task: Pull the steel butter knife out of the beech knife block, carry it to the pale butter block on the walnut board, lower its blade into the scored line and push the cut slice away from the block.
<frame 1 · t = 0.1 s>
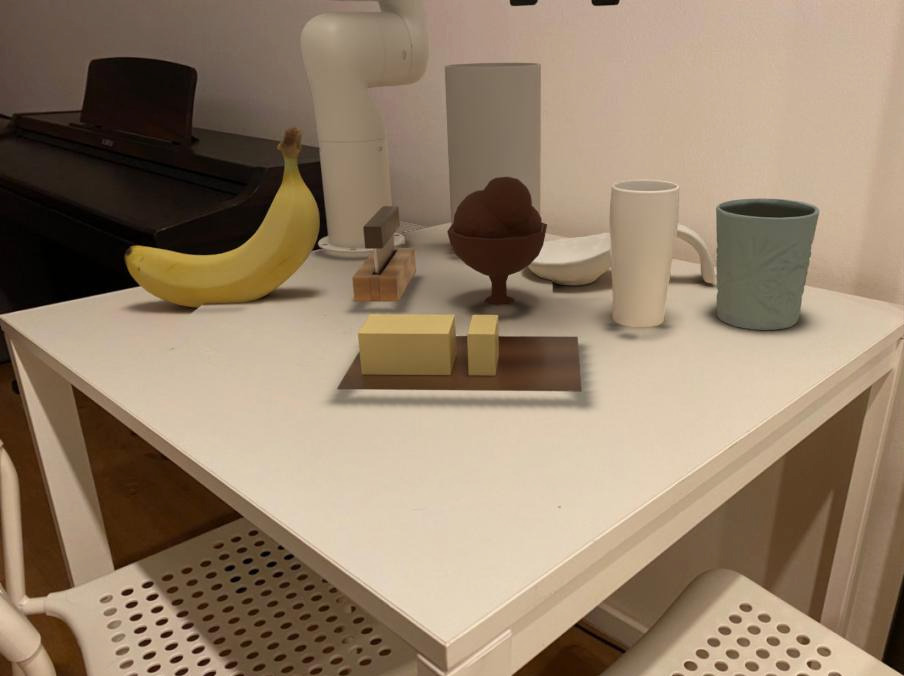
hand: (565, 5, 72), 31 cm above the table, tool pointing down, fingers open, 9 cm apart
butter slice: (484, 365, 73), point 1 cm above the table, touching board
green cup: (754, 318, 88), on the table
knife block: (387, 293, 97), on the table
ice cream bowl: (499, 311, 91), on the table
knife: (387, 285, 97), point 1 cm above the table, touching knife block
banana: (231, 306, 94), on the table
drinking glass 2: (637, 330, 85), on the table
spoon rest: (615, 281, 101), on the table
board: (466, 372, 75), on the table
cylinder vase: (496, 254, 114), on the table
butter: (410, 364, 74), point 1 cm above the table, touching board
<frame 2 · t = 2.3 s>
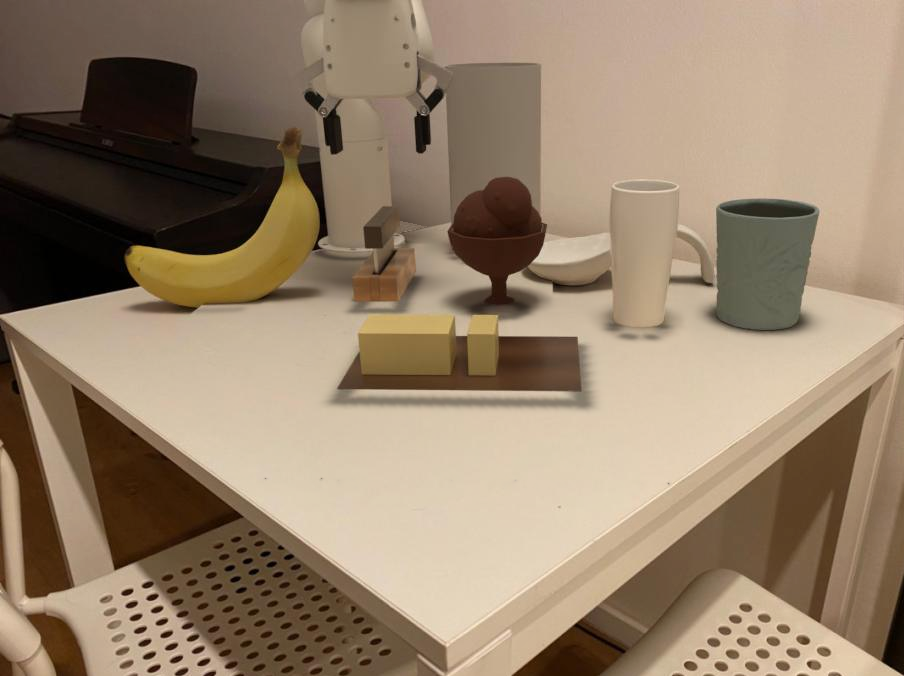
hand: (379, 152, 90), 17 cm above the table, tool pointing down, fingers open, 9 cm apart
nothing on the table moved.
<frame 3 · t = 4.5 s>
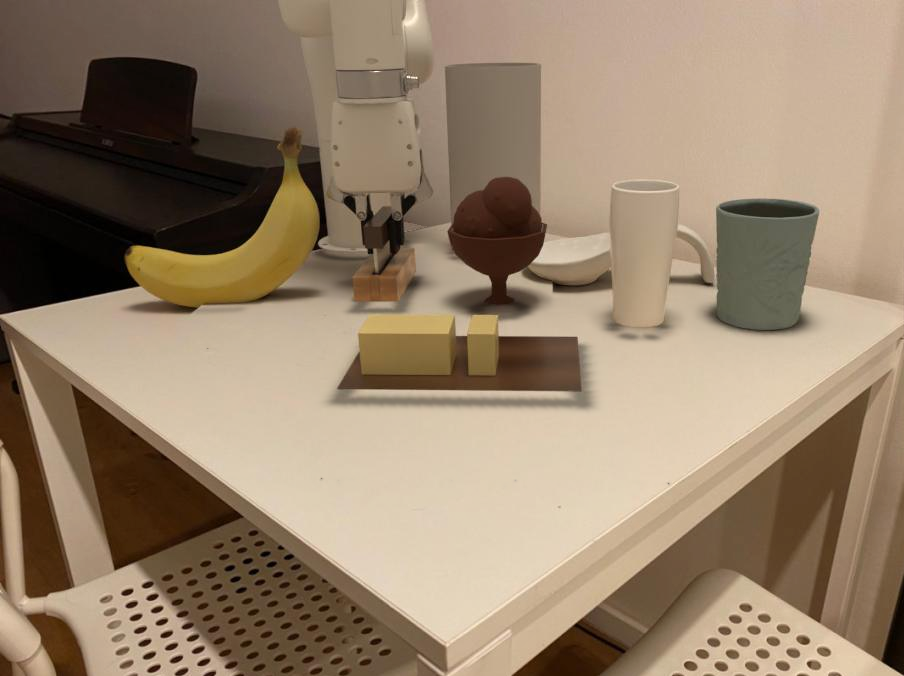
hand: (384, 250, 95), 5 cm above the table, tool pointing down, fingers closed on knife, 2 cm apart
knife: (387, 285, 97), point 1 cm above the table, touching gripper, knife block
everything else where it was.
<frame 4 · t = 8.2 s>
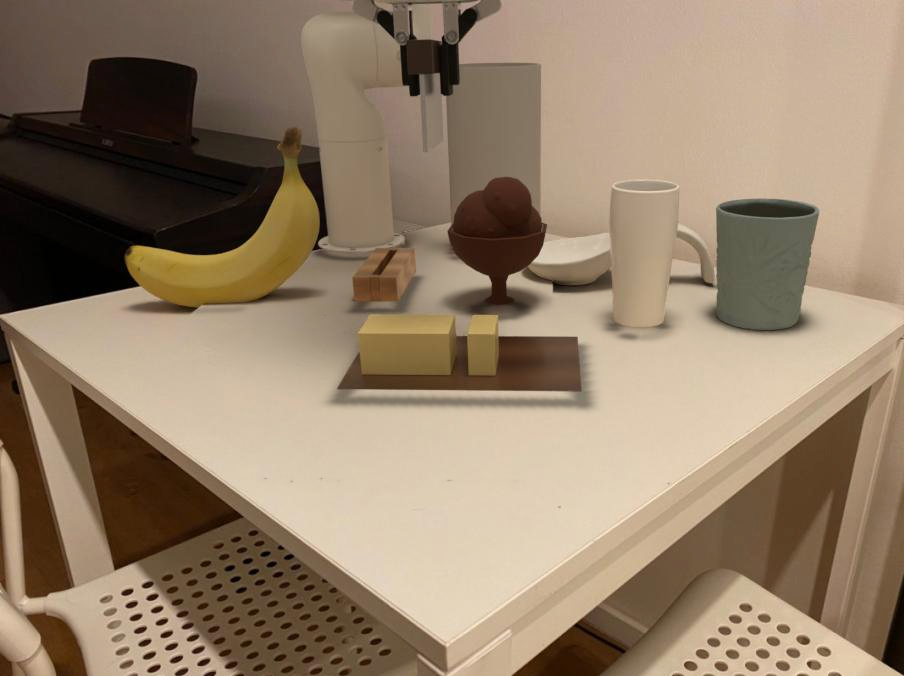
hand: (431, 93, 69), 24 cm above the table, tool pointing down, fingers closed on knife
knife: (433, 146, 70), point 20 cm above the table, touching gripper
everything else where it was.
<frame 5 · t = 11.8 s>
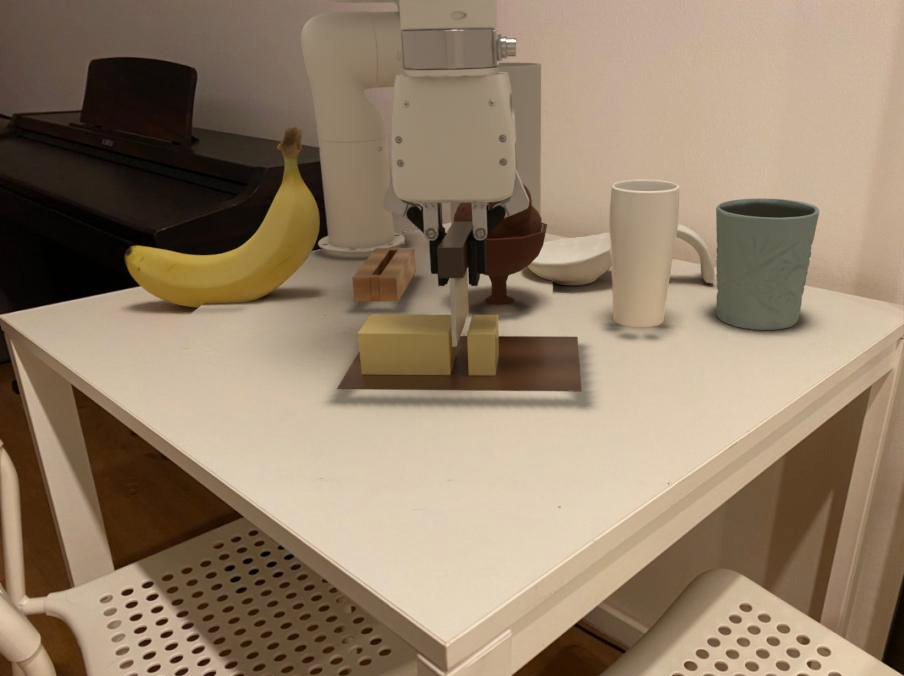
hand: (459, 280, 70), 9 cm above the table, tool pointing down, fingers closed on knife
knife: (461, 328, 71), point 5 cm above the table, touching gripper
everything else where it was.
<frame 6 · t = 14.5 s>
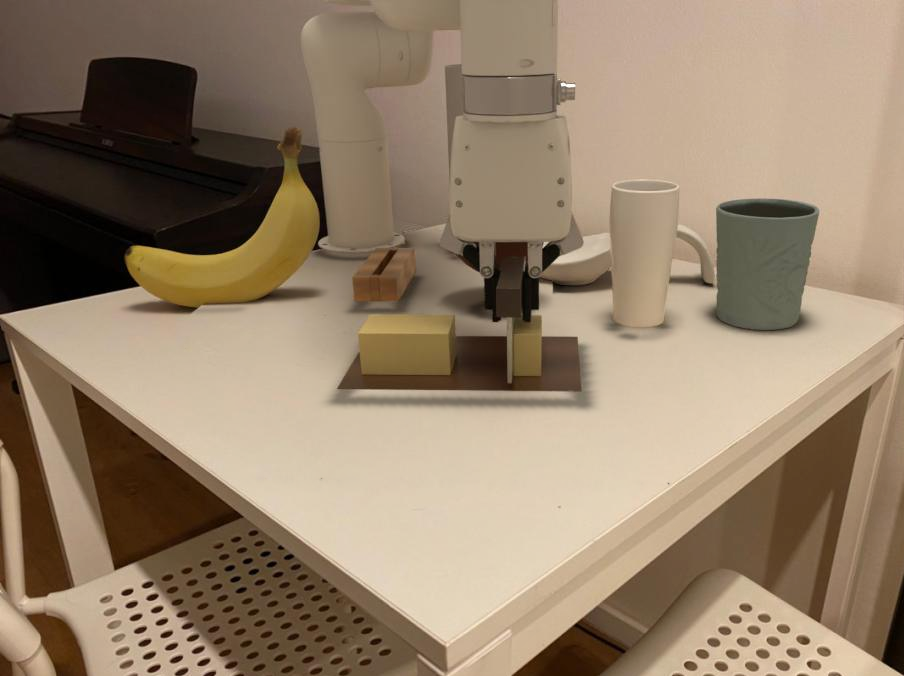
hand: (512, 315, 71), 6 cm above the table, tool pointing down, fingers closed on knife, 2 cm apart
butter slice: (528, 365, 73), point 1 cm above the table, touching board, knife
knife: (512, 362, 73), point 2 cm above the table, touching butter slice, gripper
everything else where it was.
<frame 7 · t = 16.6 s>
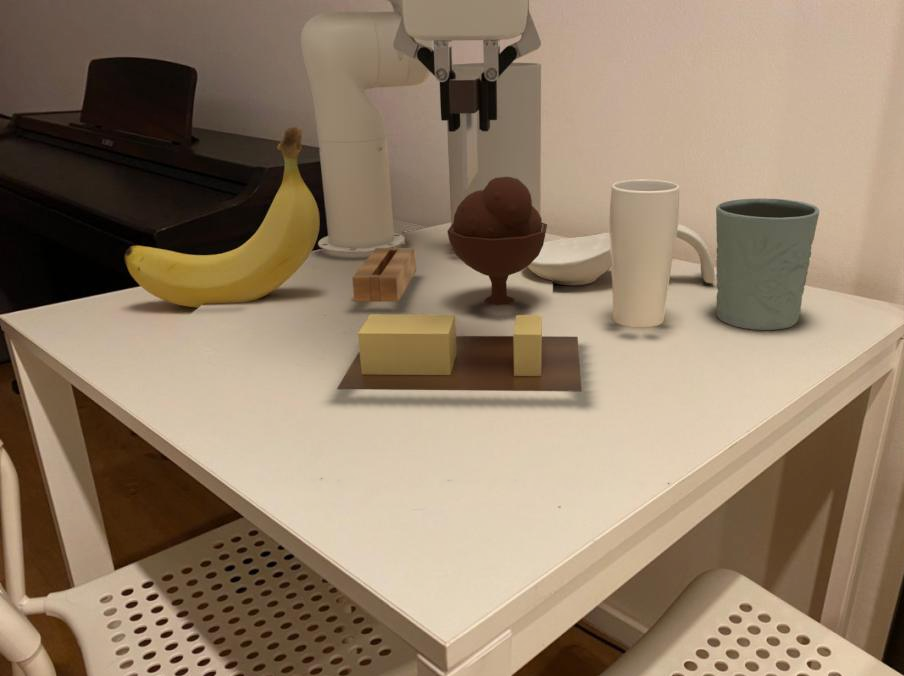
hand: (469, 127, 69), 22 cm above the table, tool pointing down, fingers closed on knife
butter slice: (528, 365, 73), point 1 cm above the table, touching board
knife: (470, 179, 71), point 17 cm above the table, touching gripper
everything else where it was.
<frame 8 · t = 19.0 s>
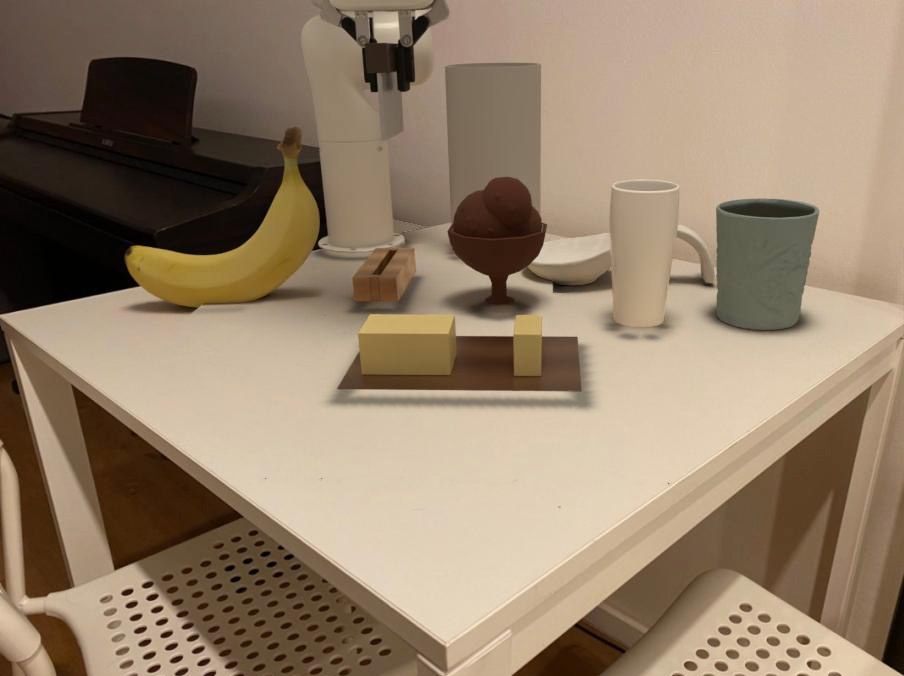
hand: (390, 89, 78), 24 cm above the table, tool pointing down, fingers closed on knife
knife: (393, 135, 80), point 20 cm above the table, touching gripper
everything else where it was.
at the end: butter slice 0.4 cm from the target spot on the table beside the butter, resting on board; butter moved 0.0 cm from its start; the gripper is holding knife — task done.
